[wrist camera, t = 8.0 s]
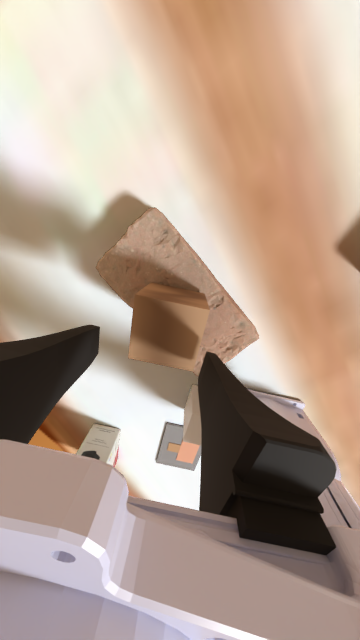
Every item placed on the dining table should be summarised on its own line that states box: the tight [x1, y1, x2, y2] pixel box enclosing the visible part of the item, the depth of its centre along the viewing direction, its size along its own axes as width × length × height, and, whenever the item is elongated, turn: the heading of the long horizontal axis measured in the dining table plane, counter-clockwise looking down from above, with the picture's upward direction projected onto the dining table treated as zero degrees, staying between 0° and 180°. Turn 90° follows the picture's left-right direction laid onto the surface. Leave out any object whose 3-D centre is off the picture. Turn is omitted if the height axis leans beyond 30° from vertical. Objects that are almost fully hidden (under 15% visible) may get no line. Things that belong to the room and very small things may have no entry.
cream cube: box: [183, 384, 201, 445], centre depth 24 cm, size 5×5×5 cm
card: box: [156, 423, 201, 471], centre depth 30 cm, size 7×10×1 cm
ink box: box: [76, 424, 121, 467], centre depth 25 cm, size 9×5×12 cm, turn 168°
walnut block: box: [128, 282, 210, 371], centre depth 15 cm, size 5×5×5 cm
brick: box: [96, 208, 259, 376], centre depth 19 cm, size 17×8×5 cm, turn 42°
